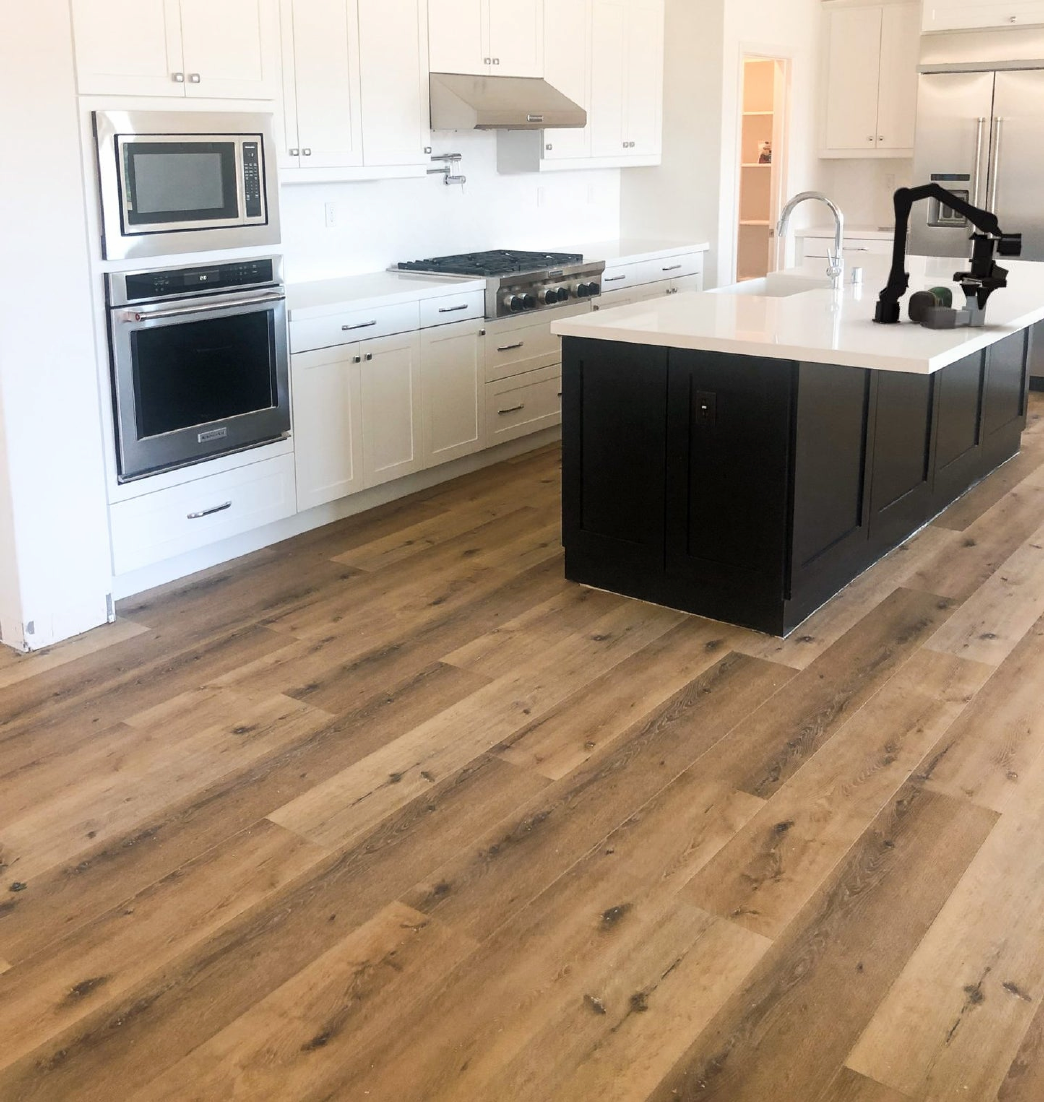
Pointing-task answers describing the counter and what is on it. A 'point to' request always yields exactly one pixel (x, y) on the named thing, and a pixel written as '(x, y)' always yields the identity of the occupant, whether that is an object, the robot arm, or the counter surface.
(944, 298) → the coffee jar
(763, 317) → the counter surface
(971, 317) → the end cover
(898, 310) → the robot arm
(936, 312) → the housing
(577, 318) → the counter surface
